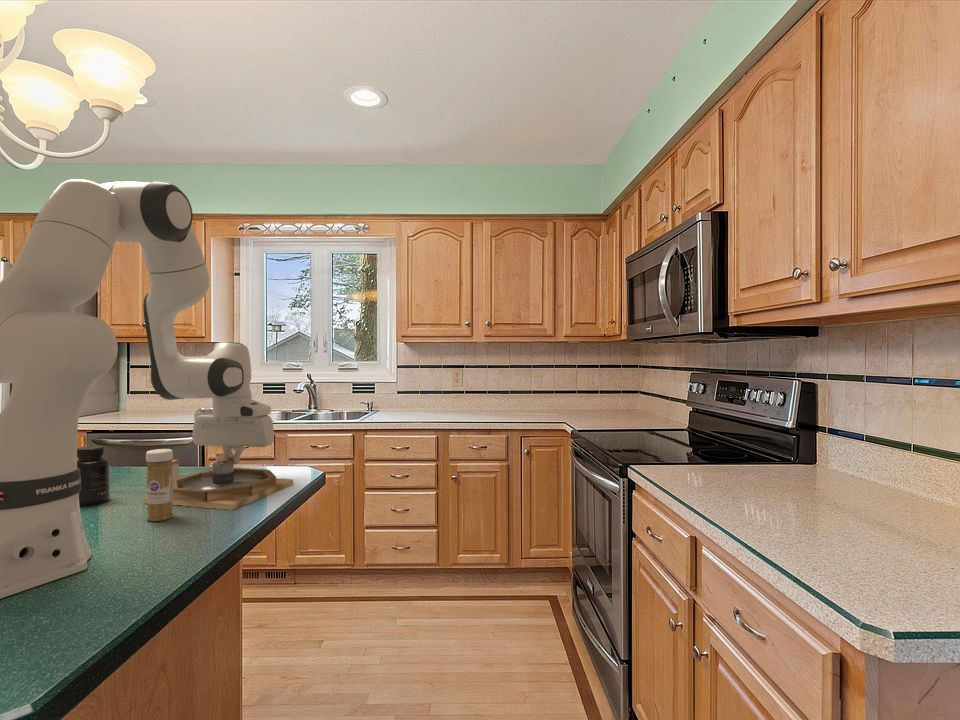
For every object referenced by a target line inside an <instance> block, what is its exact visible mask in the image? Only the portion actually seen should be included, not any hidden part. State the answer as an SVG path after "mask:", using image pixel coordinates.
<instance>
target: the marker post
mask: <svg viewBox="0 0 960 720" xmlns="http://www.w3.org/2000/svg"><path fill="white" fill-rule="evenodd" d="M179 461H180V460H179V459H172V480H173V479H177V478H180V465H179V463H180V462H179Z"/></svg>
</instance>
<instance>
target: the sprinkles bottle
mask: <svg viewBox="0 0 960 720" xmlns="http://www.w3.org/2000/svg"><path fill="white" fill-rule="evenodd" d="M172 460H174V451H173V449H170V448H157V449H151V450H147V451H146V453H145V461H146V472H147V473H146V483H147V484H146V497H147V503H146V506H147V509H146V510H147V512H146V513H147V516H146V520H147V521H149V522H161V521H162V520H163V521H167V520H169V519H171V518H172V517H174V513H173V512H174V511H173V505H172V500H173V488H172Z"/></svg>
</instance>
